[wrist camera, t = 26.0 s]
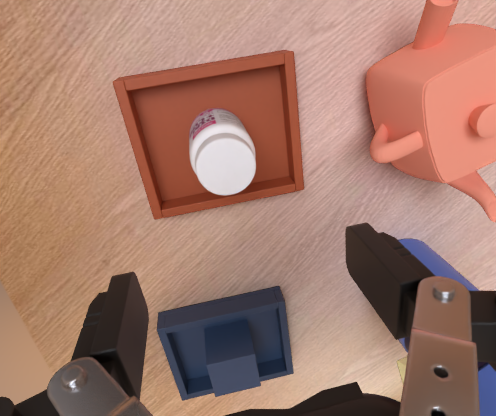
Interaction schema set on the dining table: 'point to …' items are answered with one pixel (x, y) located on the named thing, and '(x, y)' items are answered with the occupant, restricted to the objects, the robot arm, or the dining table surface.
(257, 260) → the dining table surface
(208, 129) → the pill bottle
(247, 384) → the blue block
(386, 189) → the dining table surface
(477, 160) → the teapot
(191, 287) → the dining table surface
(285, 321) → the blue tray
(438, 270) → the water bottle
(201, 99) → the terracotta tray
